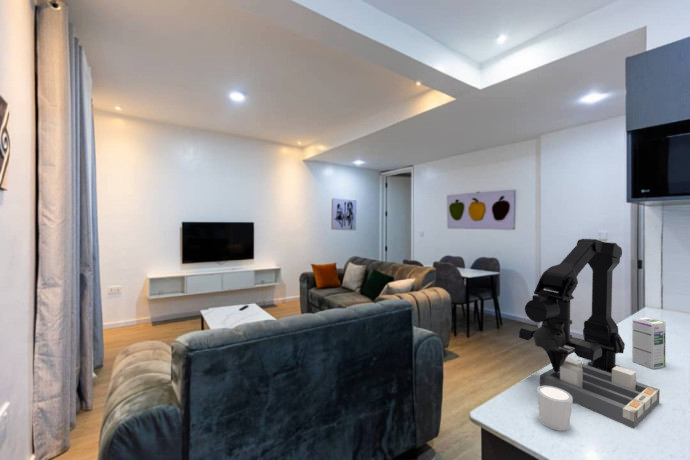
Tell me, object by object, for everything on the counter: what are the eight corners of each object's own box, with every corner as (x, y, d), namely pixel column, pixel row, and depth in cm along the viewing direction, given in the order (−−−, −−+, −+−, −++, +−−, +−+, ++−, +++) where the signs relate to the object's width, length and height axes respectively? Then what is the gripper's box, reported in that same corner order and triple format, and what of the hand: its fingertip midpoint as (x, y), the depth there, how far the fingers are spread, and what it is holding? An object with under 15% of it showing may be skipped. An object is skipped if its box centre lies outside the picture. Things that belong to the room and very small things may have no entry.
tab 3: (616, 385, 84) (616, 365, 84) (635, 391, 81) (636, 371, 81) (611, 388, 83) (611, 368, 83) (631, 395, 79) (631, 375, 79)
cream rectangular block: (565, 382, 86) (565, 363, 86) (582, 388, 83) (582, 369, 82) (559, 385, 84) (560, 366, 84) (576, 392, 81) (577, 372, 81)
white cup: (557, 412, 75) (558, 384, 75) (580, 432, 68) (580, 401, 68) (530, 413, 75) (530, 385, 75) (549, 433, 68) (550, 402, 68)
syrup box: (653, 369, 96) (654, 323, 96) (631, 361, 102) (632, 318, 101) (665, 367, 98) (666, 322, 97) (643, 359, 103) (644, 316, 103)
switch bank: (569, 370, 96) (569, 358, 96) (659, 402, 79) (659, 388, 79) (539, 387, 86) (539, 374, 86) (633, 428, 69) (634, 411, 69)
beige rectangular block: (565, 374, 90) (566, 356, 90) (581, 380, 87) (582, 361, 87) (560, 377, 89) (560, 359, 88) (576, 383, 85) (577, 364, 85)
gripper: (508, 312, 90) (507, 365, 90) (583, 332, 74) (582, 396, 74) (528, 306, 95) (528, 356, 96) (603, 323, 80) (602, 383, 80)
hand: (556, 371), depth 86 cm, fingers closed
